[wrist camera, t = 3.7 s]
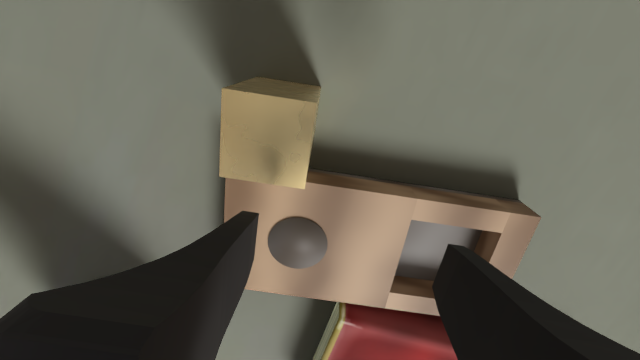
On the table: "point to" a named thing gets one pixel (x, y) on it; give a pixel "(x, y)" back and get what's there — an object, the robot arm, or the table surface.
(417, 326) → the hardcover book
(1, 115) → the table surface
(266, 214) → the bore block
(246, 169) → the brass peg
